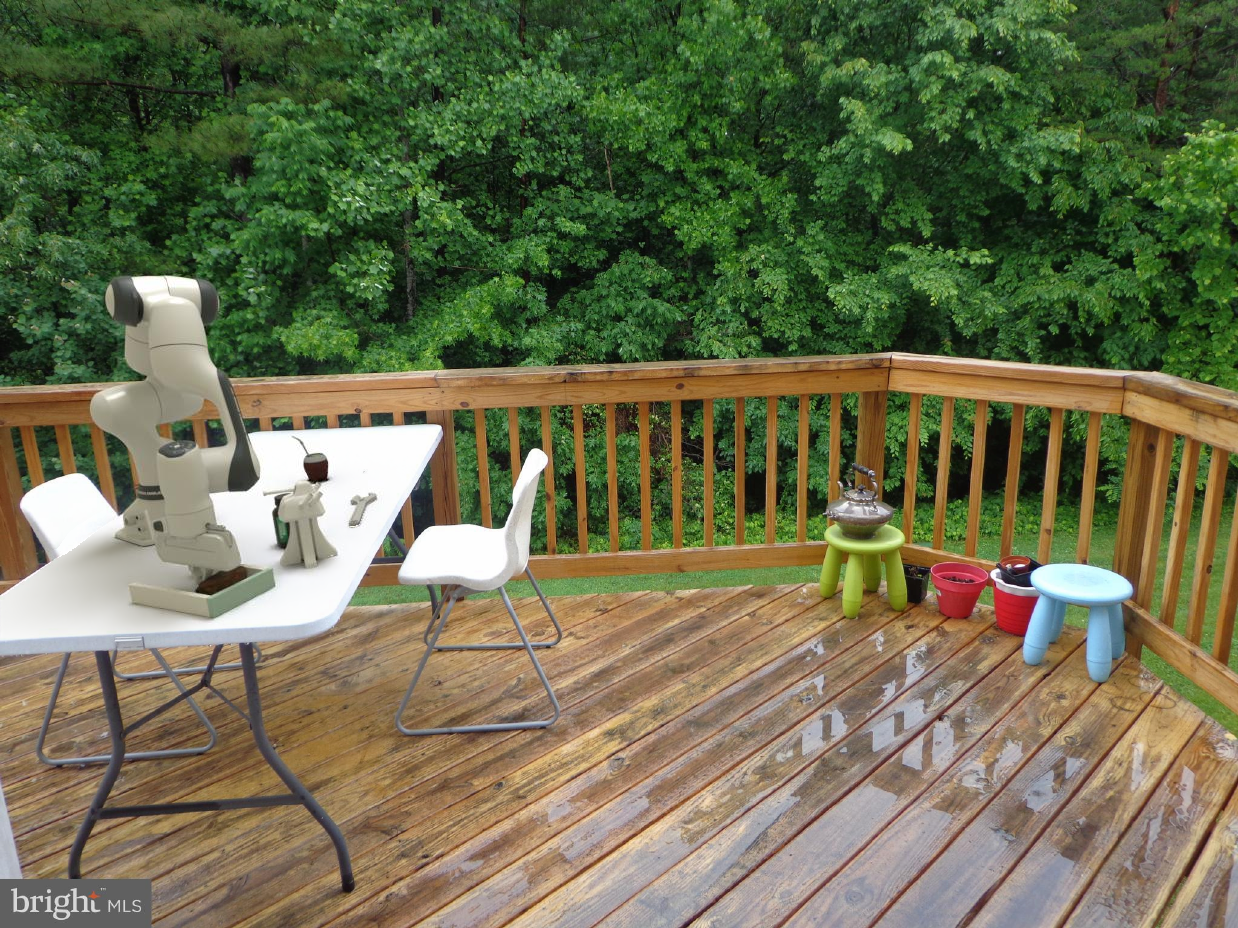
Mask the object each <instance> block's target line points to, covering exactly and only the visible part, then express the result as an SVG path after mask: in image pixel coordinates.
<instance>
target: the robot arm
mask: <svg viewBox="0 0 1238 928" xmlns="http://www.w3.org/2000/svg"><path fill="white" fill-rule="evenodd" d="M104 297H105V298H104V299H105V306H106V309H107V310H108V313H109V315H110V317H111V319H112V320H114V321H115V322H116V323H117V324H120V325H124V326H125V336H124V337H125V339H124V340H125V341H124V358H125V362H126V364H127V365H128V367H130V368H131V369H132V370H133V371H135V372H137V373H139V374H140V375H143V376H146V378H145V380H142V381H136V382H131V383H130V382H129V383H126V384H120V385H114V386H112V387H109V388H106V389H103V390H101V391H97V392H96V393H95V394H94V395H93V396H92V398H91V400H90V404H89V413H90V417H91V419H92V421H93V423H94V424H95V425H96V426H97V427H98V428H99V429H101V430H102V431H104V432H106V433H108V434H110V435H112V436H114V437H116V438H117V439H119V440H120V441H121V442H122V443H123V444H124V445H125V447H127V449H128V451H129V452H130V454H131V457H132V459H133V462H134V463H133V464H134V466H135V471H136V473H137V477H138V478H137V479H138V482H139V483H136V484H134V485H133V487H134V488H133V490H135V491H136V490H137V494H136V498H135V500H134V501H133V502H132V503H131V504H130V505H129V506H128V507H127V508H126V509H125V510H124V512H123V514H122V521H123V528H121V529H119V530H117V531H115V532H114V537H115V538H117V539H119V540H124V541H127V542H130V543H132V544H135V545H139V546H140V547H146V546H147V547H148V546H152V545H154V546H155V549H156V554H157V556H158V558H159V560H160V561H161V562H164V563H168V564H176V565H181V566H182V565H183V566H187V568H188V572H190V573H191V576H192V575H193V576H192V577H193V578H194V580H195V584H196V586H198V585H199V584H200V583H201V582H202V581H204V580H205V579H207V578H209V577H210V576H212V574H213V571H214V570H220V571H230V570H232V569H235V568H237V567H238V566H239V565H240V564H242V557H241V553H240V550H239V547H238V546H239V545H238V543H237V541H236V538H235V536H234V535H233V533H232V531H231V530H229V529H228V528H227V526H225V525H223V524H218V522H217V517H216V511H215V507H214V506H215V505H214V502H213V499H212V498H211V496H210V494H219V493H228V492H229V493H237V492H238V493H239V492H241V493H242V492H248V491H250V489H252V488H253V487H254V486H255V485H256V484H257V483H258V481H259V480H260V479H261V465H260V464H261V463H260V460H259V457H258V456H257V454H256V452H255V450H254V447H253V445H252V441H251V439H250V437H249V436H250V435H249V432H248V430H247V427H246V424H245V420H244V418H243V414H242V411H241V407H240V405H239V401H238V399H237V396H236V393H235V390H234V387H233V385H232V383H231V380H230V379H229V376H228V375H227V374H226V372H225V371H224V370H221V369H219V368H217V367H216V366H215V364H214V363H213V361H212V359H211V357H210V353H209V349H208V340H207V335H206V330H205V328H204V327H205V326H209V325H211V324H213V323H214V322H215V320H217V318H218V314H219V312H220V311H219V310H220V298H219V295H218V292H217V289H216V287H215V286H214V284H212V283H211V282H210V281H209V280H205V279H203V278H197V277H194V278H188V277H181V276H174V275H146V276H145V275H144V276H140V275H139V276H131V275H121V276H117V277H114V278H112V279H111V280H110V281H109V283H108V286H107V289H106V292H105V296H104ZM205 399H206V400H208V401H209V402H212V403H213V404H214V405H215V407H216V408H217V411H218V414H219V417H220V421H221V423H222V426H223V430H224V433H225V436H226V438H227V443H226V445H223V446H221V445H220V446H215V447H206V448H205V447H204V448H203V447H202V448H200V447H199V444H198V443H197V442H195V441H192V440H184V439H183V440H173V439H170V438H168V437H167V438H166V437H162V436H160V435H159V433H158V430H157V425H158V426H159V425H163V424H167V423H172V422H176V421H181V420H184V419H186V418H188V417H192V416H194V415H196V414H197V413H199V412H200V411H202V408H203V406H204V402H205V401H204V400H205Z"/></svg>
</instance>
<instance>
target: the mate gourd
mask: <svg viewBox="0 0 1238 928" xmlns="http://www.w3.org/2000/svg"><path fill="white" fill-rule="evenodd" d="M291 437H292V438H293V439H295V440H297V441H298V442H299V444H300V445H301V446H302V448H303V450H304V451H305V454H306V455H304V458H303V462H302V463H303V464H302V466H303V470H304V472H305V474H306V475H307V478H308V479H307V481H308V482H312V485H315V484H316V483H317V482H318V483H320V482H328V481H329V478H328V476H329V459H328V458H327V455H325V453H321V452H313V453H309V451H308V450H307V448H306V446H305V444H304V442H303V440H301V439H300V438H298V437H296V436H293V435H291Z"/></svg>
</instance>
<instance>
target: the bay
mask: <svg viewBox="0 0 1238 928" xmlns="http://www.w3.org/2000/svg"><path fill="white" fill-rule="evenodd" d="M239 566H244V568H245V570H246V574H247V578H246V579H244V580H242V581H240V582H238V583H236V584H234V585H232V586H230V587H228V588H226V589H224V590H222V591H220V592H218V593H216V594H214V595H212V596H210V595H204V594H198V593H195V592H192V591H186V590H180V589H174V588H169V587H162V586H159V585H158V586H157V585H150V584H145V583H140V582H132V583H128V588H129V592H130V597H131V601H132V603H133V604H137V603H138V605H142V604H143V605H144V606H149V607H153V608H160V609H164V610H168V611H169V610H170V611H176V612H181V613H187V614H192V615H198V616H200V617H208V618H213V619H215V618H217V617H220V616H221V615H223V614H224V613H226V612H227V613H228V612H229V611H230V610H232V609H234V608H236V607H238V606H241V605H242V604H245V603H246V602H248V601H249V600H251V599H253V598H255V597H257V596H259V595H262V594H263V593H265V592H267V591H269V590H272V589H273V588H275V587H276V582H275V576H274V575H275V573H274V569H273V567H265V566H260V565H259V566H258V565H252V564H247V563H246V564H245V563H240V565H239ZM219 571H220V570H214V571H213V574H212V575H214V574H216V573H217V572H219ZM191 576H192V577H193V575H192V574H191Z"/></svg>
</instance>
